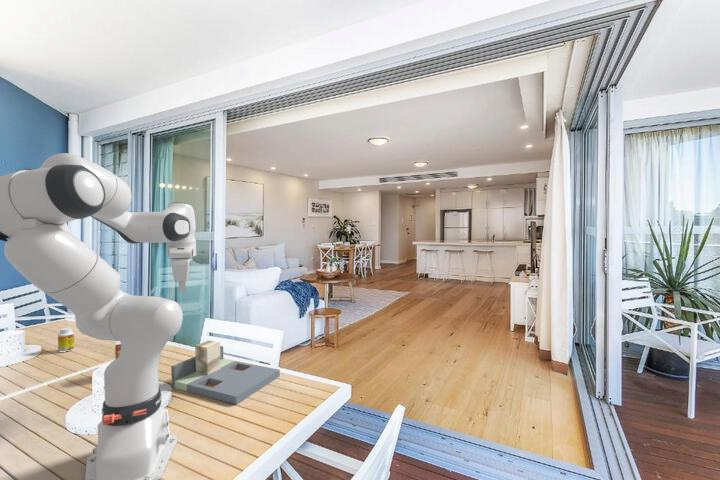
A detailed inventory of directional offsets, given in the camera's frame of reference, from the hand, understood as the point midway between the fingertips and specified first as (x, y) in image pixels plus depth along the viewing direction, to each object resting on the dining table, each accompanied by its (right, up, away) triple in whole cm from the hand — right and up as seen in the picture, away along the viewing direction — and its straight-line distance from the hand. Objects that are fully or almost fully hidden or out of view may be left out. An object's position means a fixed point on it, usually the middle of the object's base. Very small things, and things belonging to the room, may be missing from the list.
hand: (182, 292), depth 114 cm
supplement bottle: (-75, -34, +41) cm, 92 cm away
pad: (+3, -34, +12) cm, 36 cm away
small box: (-29, -34, +15) cm, 47 cm away
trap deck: (+13, -34, +8) cm, 37 cm away
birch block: (+3, -31, +12) cm, 34 cm away
